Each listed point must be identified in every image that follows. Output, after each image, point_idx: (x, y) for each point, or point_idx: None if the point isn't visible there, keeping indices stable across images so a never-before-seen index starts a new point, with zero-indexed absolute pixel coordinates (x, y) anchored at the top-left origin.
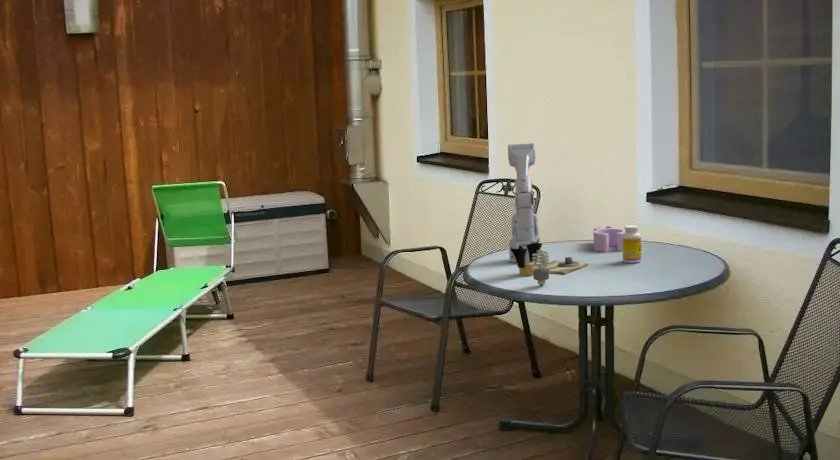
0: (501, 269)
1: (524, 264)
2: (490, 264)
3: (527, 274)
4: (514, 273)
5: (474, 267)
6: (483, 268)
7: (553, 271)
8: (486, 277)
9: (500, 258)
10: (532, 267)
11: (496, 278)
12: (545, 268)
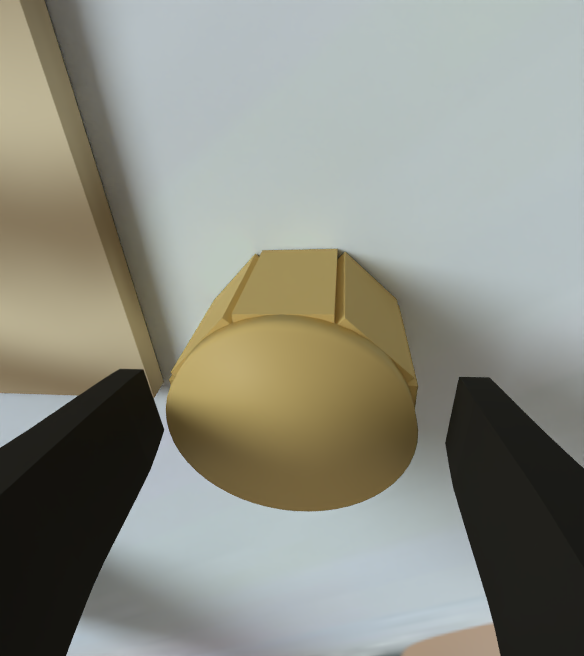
0: (248, 559)
1: (491, 407)
2: (177, 626)
3: (389, 300)
4: None
5: (284, 653)
6: (281, 625)
7: (39, 48)
8: None
9: None
10: (328, 302)
11: None
12: (22, 274)
